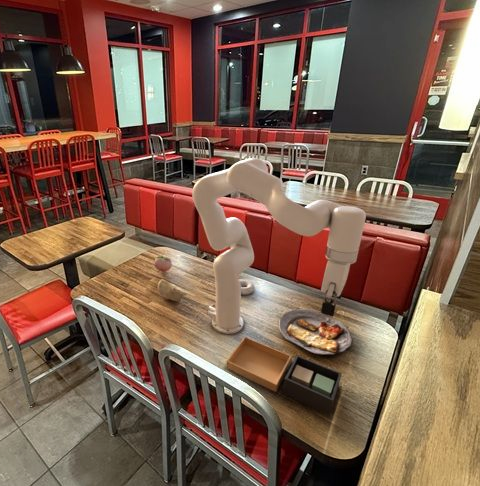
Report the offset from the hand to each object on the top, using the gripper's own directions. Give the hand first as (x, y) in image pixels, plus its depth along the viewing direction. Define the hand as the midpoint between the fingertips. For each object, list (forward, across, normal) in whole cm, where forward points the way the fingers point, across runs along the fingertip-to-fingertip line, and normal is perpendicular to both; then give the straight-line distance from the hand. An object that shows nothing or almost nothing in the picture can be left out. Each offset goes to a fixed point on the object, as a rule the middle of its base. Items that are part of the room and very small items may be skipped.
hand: (331, 305), depth 90 cm
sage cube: (+26, +9, +3) cm, 28 cm away
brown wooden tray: (+26, +8, -17) cm, 32 cm away
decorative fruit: (+26, -24, -84) cm, 91 cm away
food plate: (+26, -17, -6) cm, 32 cm away
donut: (+26, -30, -41) cm, 57 cm away
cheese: (+26, -8, -64) cm, 70 cm away
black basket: (+26, +9, 0) cm, 28 cm away
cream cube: (+26, +9, -3) cm, 28 cm away
